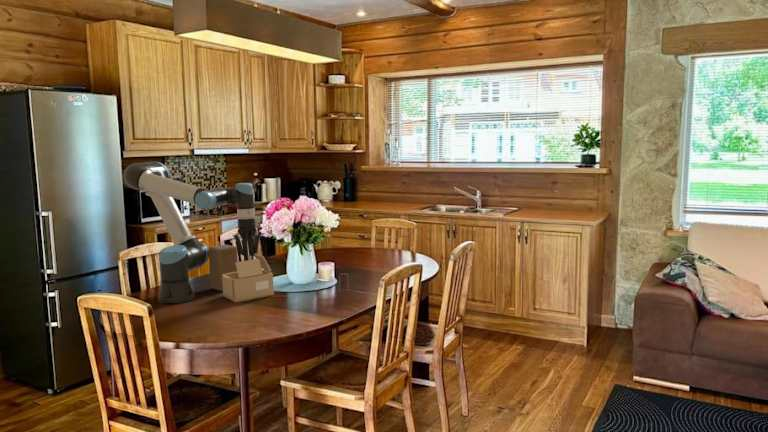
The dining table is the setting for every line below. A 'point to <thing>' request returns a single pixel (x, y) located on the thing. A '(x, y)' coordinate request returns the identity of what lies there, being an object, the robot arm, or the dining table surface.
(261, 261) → the right flap
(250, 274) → the front flap
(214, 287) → the wooden block
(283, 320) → the dining table surface
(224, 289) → the carton
